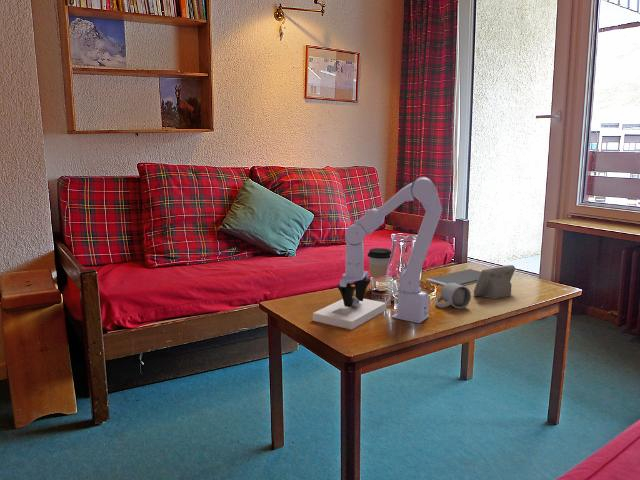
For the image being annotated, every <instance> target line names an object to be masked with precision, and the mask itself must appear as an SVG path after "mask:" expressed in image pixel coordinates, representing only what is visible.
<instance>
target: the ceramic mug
mask: <svg viewBox="0 0 640 480" xmlns="http://www.w3.org/2000/svg"><path fill="white" fill-rule="evenodd" d="M440 295H441V296H439V297H438V298H436V300H435V304H436V307H438V308H441V309H442V308H446V307H449V306H451V307H454V308H455V309H457V310H459V309H460V310H461V309H464V308H466V307H467V306H468V305H469V304H470V302H471V300H472V299H471V298H472V293H471V290H470V288H468V287H467V286H466V285H464V286H462V285H459V284H456V283H448V284H446V285H444V286H442V288H441V291H440ZM442 301H444V302H442ZM440 302H441V303H440Z"/></svg>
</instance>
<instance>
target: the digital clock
mask: <svg viewBox="0 0 640 480" xmlns="http://www.w3.org/2000/svg"><path fill="white" fill-rule="evenodd" d="M515 270H516V266H514V265H513V264H509V265H508V264H507V265H500V266H495V267H489V268H484V269H481V273H480V276H479V278H478V281H477V283H475V286H474V290H473V295H474V296H475V297H481V296H483V297H485V296H486V298H488V297H489V299H491V298H492V299H491V300H495V298H496V299H500V297H501V298H505V297H504V296H506V297H510V296H509V295H511V296H512V283H511V280H512V278H513V276H514V273H515Z"/></svg>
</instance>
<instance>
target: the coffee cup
mask: <svg viewBox="0 0 640 480" xmlns="http://www.w3.org/2000/svg"><path fill="white" fill-rule="evenodd" d="M391 253H392V250H391V249H389V248H378V247H377V248H370V249H369V251H368V252H367V257H368V261H369V262H368V265H369V266H368V267H369V277H370V278H369V279H371V277H374V276H385V275H386V271H387V264H388V261H389V258H390V254H391Z"/></svg>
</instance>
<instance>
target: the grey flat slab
mask: <svg viewBox="0 0 640 480" xmlns="http://www.w3.org/2000/svg"><path fill="white" fill-rule="evenodd" d="M481 271H482V270H481ZM481 271H480V270H476V269H472V268H470V269H469V268H468V269H464V270H461V271H455V272H451V273H446V274H442V275H437V276H431V277H428V278H426V279H425V280H426V282H428V283H431V284H436V285H439V286H441V287H444V285H446V284H448V283H456V284H459V285H462V286H468V285H473V284H477V281H478V278H479V276H480V273H481Z"/></svg>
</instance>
